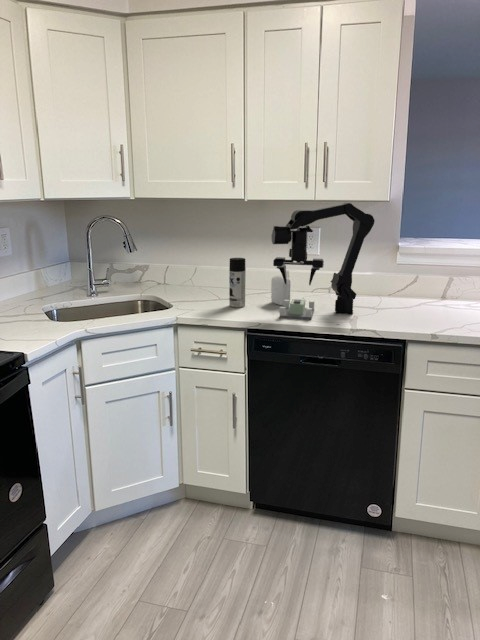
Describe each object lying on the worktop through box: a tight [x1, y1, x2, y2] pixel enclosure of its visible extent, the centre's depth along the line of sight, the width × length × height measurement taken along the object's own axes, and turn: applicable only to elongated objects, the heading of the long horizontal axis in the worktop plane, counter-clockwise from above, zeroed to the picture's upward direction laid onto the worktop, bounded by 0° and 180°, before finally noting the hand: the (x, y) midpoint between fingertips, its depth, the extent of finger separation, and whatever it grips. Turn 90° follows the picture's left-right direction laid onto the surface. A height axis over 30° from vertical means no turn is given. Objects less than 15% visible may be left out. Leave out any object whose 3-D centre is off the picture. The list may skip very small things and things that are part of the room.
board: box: [290, 298, 306, 315], centre depth 201 cm, size 5×9×5 cm, turn 168°
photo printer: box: [270, 274, 291, 307], centre depth 219 cm, size 10×4×12 cm, turn 29°
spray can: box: [228, 257, 247, 309], centre depth 213 cm, size 7×7×20 cm
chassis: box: [278, 299, 315, 321], centre depth 202 cm, size 12×15×4 cm
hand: (297, 284), depth 199 cm, fingers open, 9 cm apart
